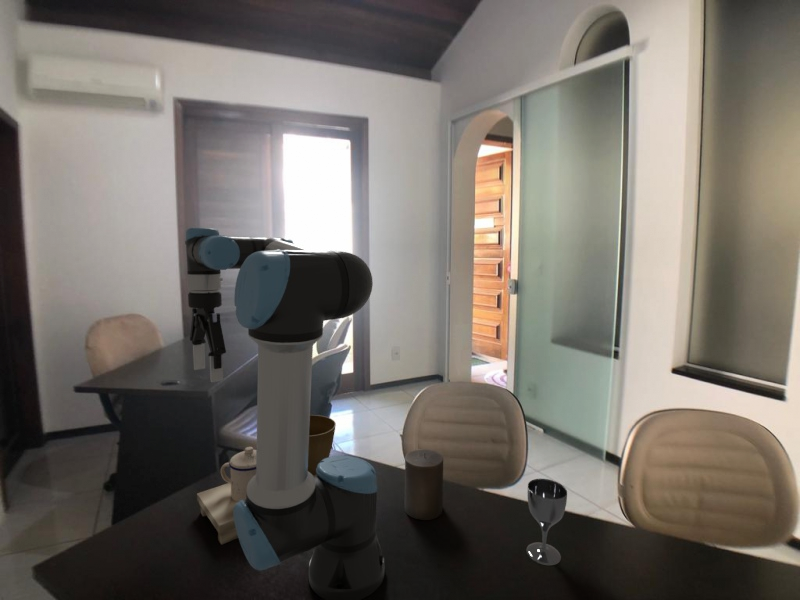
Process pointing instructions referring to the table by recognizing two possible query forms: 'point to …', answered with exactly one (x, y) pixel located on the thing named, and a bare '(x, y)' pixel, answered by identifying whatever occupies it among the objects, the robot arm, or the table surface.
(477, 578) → the table surface
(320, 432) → the plant pot
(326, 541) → the robot arm
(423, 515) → the pillar candle
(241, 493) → the teacup with lid
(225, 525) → the birch shelf
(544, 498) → the wine glass
